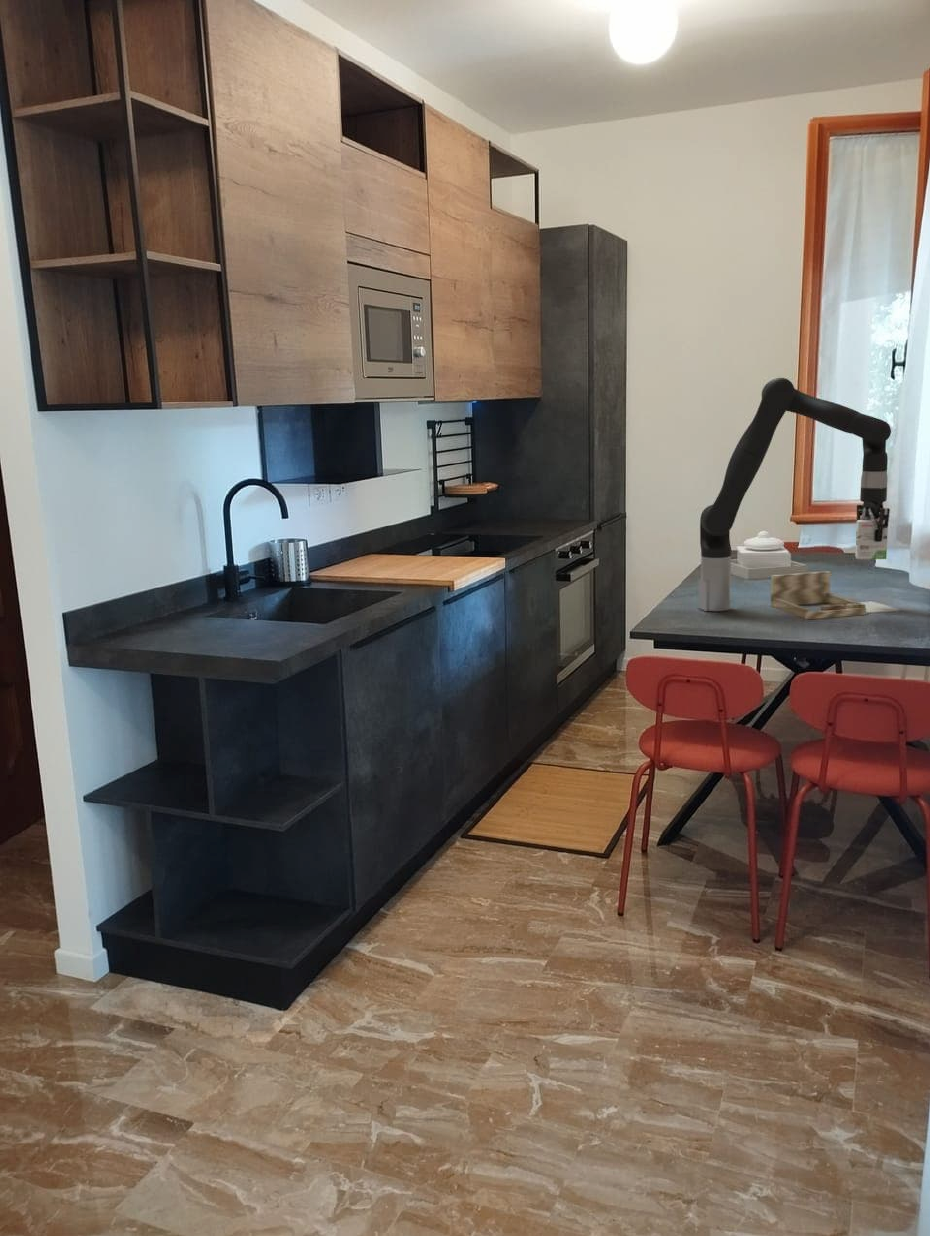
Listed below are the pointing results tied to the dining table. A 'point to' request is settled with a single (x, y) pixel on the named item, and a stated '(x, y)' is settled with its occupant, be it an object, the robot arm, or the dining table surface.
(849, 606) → the maple offcut
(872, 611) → the felt mat
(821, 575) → the rack
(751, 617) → the dining table surface
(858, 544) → the ink box
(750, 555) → the white lidded dish
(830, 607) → the walnut offcut
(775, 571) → the square grey tray
